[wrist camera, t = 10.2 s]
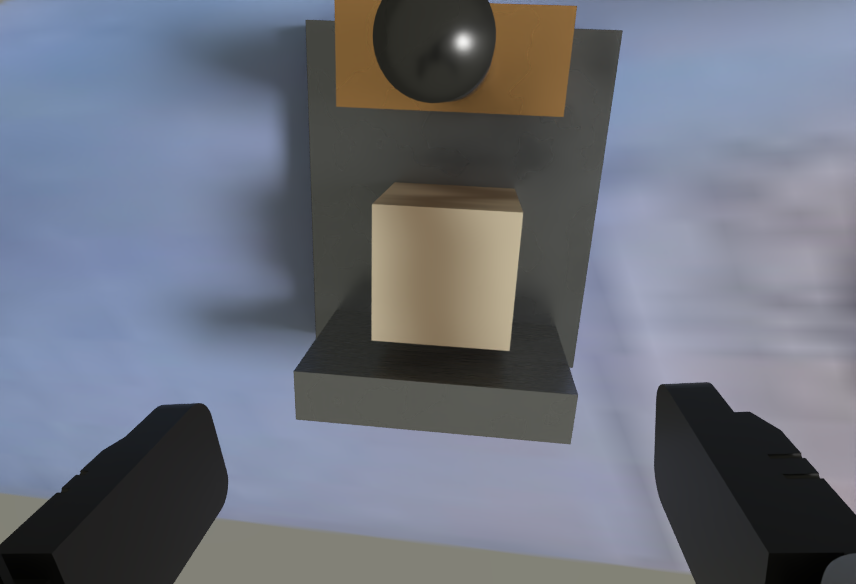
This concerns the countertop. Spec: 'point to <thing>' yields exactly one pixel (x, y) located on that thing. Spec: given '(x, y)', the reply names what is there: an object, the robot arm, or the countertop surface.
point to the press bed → (537, 266)
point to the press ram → (453, 56)
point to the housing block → (445, 265)
